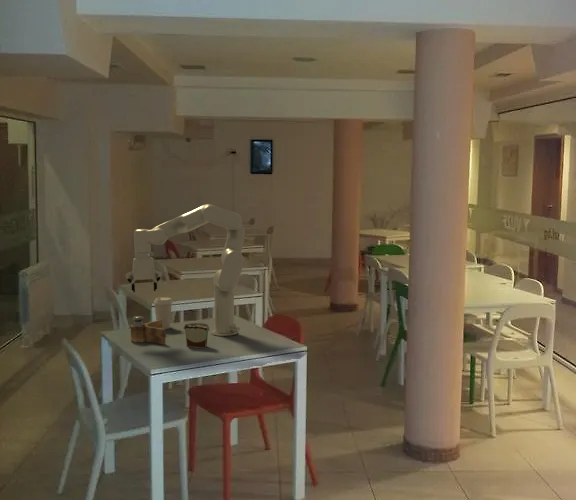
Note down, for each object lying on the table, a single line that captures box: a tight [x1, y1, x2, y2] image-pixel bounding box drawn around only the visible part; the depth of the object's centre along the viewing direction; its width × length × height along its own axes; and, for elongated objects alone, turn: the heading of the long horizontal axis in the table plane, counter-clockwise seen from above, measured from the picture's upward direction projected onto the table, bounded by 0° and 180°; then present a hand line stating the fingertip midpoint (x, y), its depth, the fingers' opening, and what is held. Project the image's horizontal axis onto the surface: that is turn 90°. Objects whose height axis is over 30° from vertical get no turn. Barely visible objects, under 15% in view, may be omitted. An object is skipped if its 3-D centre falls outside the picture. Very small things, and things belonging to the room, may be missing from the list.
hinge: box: [130, 320, 166, 345], centre depth 342 cm, size 20×20×7 cm
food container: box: [183, 322, 210, 349], centre depth 329 cm, size 12×6×10 cm, turn 71°
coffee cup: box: [153, 296, 173, 330], centre depth 366 cm, size 10×10×15 cm
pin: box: [132, 315, 145, 327], centre depth 340 cm, size 5×5×11 cm
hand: (144, 291), depth 341 cm, fingers open, 9 cm apart
